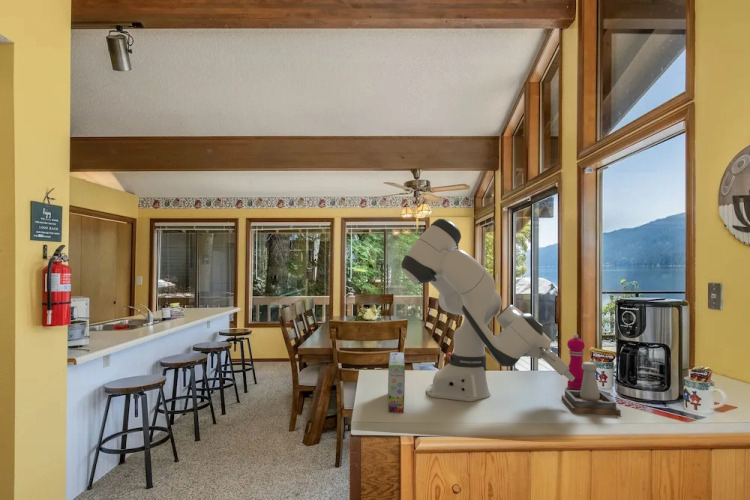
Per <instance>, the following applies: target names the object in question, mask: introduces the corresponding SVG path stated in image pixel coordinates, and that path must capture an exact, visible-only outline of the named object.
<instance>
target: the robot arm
mask: <svg viewBox="0 0 750 500" xmlns="http://www.w3.org/2000/svg"><path fill="white" fill-rule="evenodd" d="M461 239H462V235H461V231H460V229H459V228H458V227H457V225H456V224H455V223H453V222H452V221H450V220H448V219H446V218H438V219H436V220H434V221H433V222H432V223H431V224H430V226H429V227H428V228H426V230H424V232H423V233H422V234H421V235H420V236H419V237H418V238H417V240H416V241H415V243H414V244H413V245H412V247H411V248H410V249H409V251H408V253H407V254H406V255H404V257H403V259H402V261H401V263H400V266H401V267H400V268H401V270H402V271H403V273H404V274H405V276H406V277H407V278H408V279H410V280H411V281H413V282H416V283H418V284H427V283H430V284H431V285H432V286H433V287H434V288H435V290H437V292H438V293H439V294H438V298H437V299H438V304H439V307H440V309H442V311H444V312H447V313H449V314H452V315H457V316H458V315H459V316H464V317H463V322H462V325H461V326H459V327H457V328H456V329H455V330H454V333H453V353H452V352H447V353H446V358H447V364H446V365H445V366H443V367H442V368H440V369H439V370H438V371H436V373H435V374H434V376H433V379H432V383H431V384H429V385H428V386H427V387H426V394H427V396H429V397H431V398H438V399H445V400H457V401H463V402H475V401H478V400H482V399H485V398H486V399H487V398H488V397H489V396H490V395H491V393H490V390H489V385H488V380H487V374H486V373H487V366H488V365H487V355H486V350H485V349H486V348H487V350H488V352H489V354H490V356H491V358H492V359H493V360H494V362H495V363H497V364H498V365H500V366H501V367H508V368H509V367H515V365H516V364H517V363H518V362H519V360H520V359H521V358H522V357H523V356H524V355H525V354H527V355H529V357H530V358H532V359H534V358H537V360H541V359H543V360H544V361H545V362H546V363H547V364H548V365H549V366H550V367H551V368H552V369H553V370H554V371H556V372H557V373H558V374H559V375H560V376H564V377H565V378H566V379H567V380H570V381H573V380H574V379H575V377H574V376H573V375H572V374H571V373H570V372H569V371H568V370H569V367H568V366H569V365H568V364H567V363H565V362H564V361H563V360H562V359H561V358H560V356H558V355H557V354H556V352H554V351H553V350H552V348H553V345H551V343H552V340H551V338H550V337H549V336H548V335H547V334H546V333H545V332H544V326H543V324H542V323H541V322H539V321H538V320H537V319H536V318H534V316H533V315H532V314H531V313H530V312H523V311H521V310H520V309H518V308H517V307H516V306H514V305H513V304H509V305H507V306H506V307H505V308H503V309H502V305H503V303H502V302H503V301H502V300H503V299H502V296H501V295H500V292H498V290H496V282H495V279H494V277H493V276H492V275H491V273H490V272H489V271H488V270H487V269H486V268H485V267H484V266H483V265H482V264H481V263H480V262H479V261H478V260H477V259H475V258H474V257H473V256H472V255H471V254H468V252H466V251H464V250H462V249H460V248H456V247H458V245H459V243H460V242H461ZM501 309H502V311H501ZM500 311H501V312H500ZM494 317H496V318H495V320H496V322H497V323H498V324H499V326H500V327H501V328H502V330H501V331H500V332H499V333H498V334H496V335H494V334H493V333H492V331H491V330H490V328H489V327H488V326H489V324H490V322H491V320H492V319H493V318H494Z"/></svg>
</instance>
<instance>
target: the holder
mask: <svg viewBox="0 0 750 500" xmlns="http://www.w3.org/2000/svg"><path fill="white" fill-rule="evenodd" d="M580 391H581V390H571V389H570V390H569V389H565V390H564V395H563V394H562V395H561V401H562V402H563V404H565V406H566V407H567V408H568V409H569V411H570V412H571V413H573V414H590V415H591V414H593V415H611V416H612V415H614V416H621V412H622V411H621V409H619V408H618V407H617V402H615V401H614V399H612V398H611V397H610V396H608V395H607V394H606V393H605V392H603V391H599V394H600V398H599V400H598V401H583V400H582V398H581V397H580Z"/></svg>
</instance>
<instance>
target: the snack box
mask: <svg viewBox="0 0 750 500" xmlns="http://www.w3.org/2000/svg"><path fill="white" fill-rule="evenodd" d="M405 369H406V364H405V353H404V352H397V351H395V352H389V360H388V377H387V381H388V382H387V407H388V408H387V413H396V412H397V413H399V414H404V411H405V394H406V393H405V392H406V391H405V390H406V387H405V383H406V381H405V380H406V379H405V378H406V370H405Z"/></svg>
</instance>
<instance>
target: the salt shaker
mask: <svg viewBox="0 0 750 500" xmlns="http://www.w3.org/2000/svg"><path fill="white" fill-rule="evenodd" d="M597 368H598V366H597V363H595V362H592V361H584V362H582V369H583V370H584V375H583V380H582V385H581V389H580V390H579V391H580V397H581V398H582V400H583V401H598V400H599V398H600V394H599V392H600V390H599V385H598V382H597V377H596V371H597Z"/></svg>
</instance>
